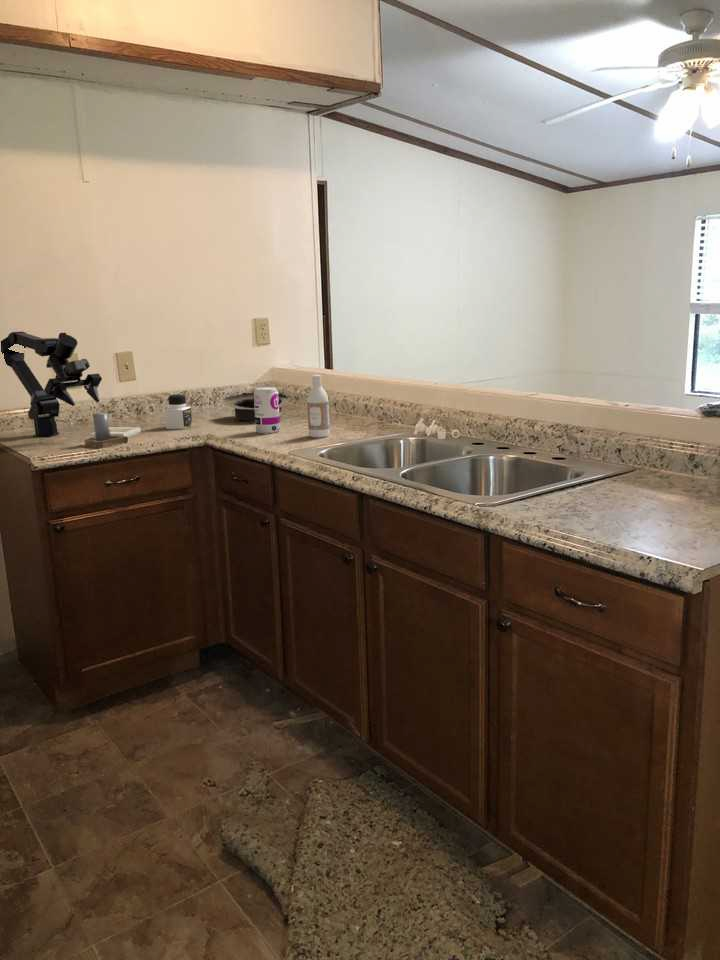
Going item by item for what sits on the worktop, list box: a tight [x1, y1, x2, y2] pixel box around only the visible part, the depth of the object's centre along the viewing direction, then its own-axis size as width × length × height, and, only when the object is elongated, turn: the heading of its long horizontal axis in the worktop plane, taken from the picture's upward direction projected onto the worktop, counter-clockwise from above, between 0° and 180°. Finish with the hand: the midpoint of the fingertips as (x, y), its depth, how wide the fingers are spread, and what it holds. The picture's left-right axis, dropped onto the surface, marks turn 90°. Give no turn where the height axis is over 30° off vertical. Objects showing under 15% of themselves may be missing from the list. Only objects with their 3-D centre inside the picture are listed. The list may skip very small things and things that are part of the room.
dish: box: [90, 426, 142, 440], centre depth 268 cm, size 12×12×2 cm
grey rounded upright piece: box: [92, 412, 110, 441], centre depth 253 cm, size 6×6×10 cm
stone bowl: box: [223, 391, 290, 423], centre depth 297 cm, size 25×25×9 cm
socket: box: [84, 435, 129, 449], centre depth 253 cm, size 8×11×2 cm
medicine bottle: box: [164, 393, 193, 430], centre depth 281 cm, size 7×7×12 cm
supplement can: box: [253, 386, 281, 435], centre depth 267 cm, size 8×8×15 cm
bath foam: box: [306, 374, 330, 439], centre depth 255 cm, size 7×7×20 cm
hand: (86, 403), depth 255 cm, fingers open, 9 cm apart
